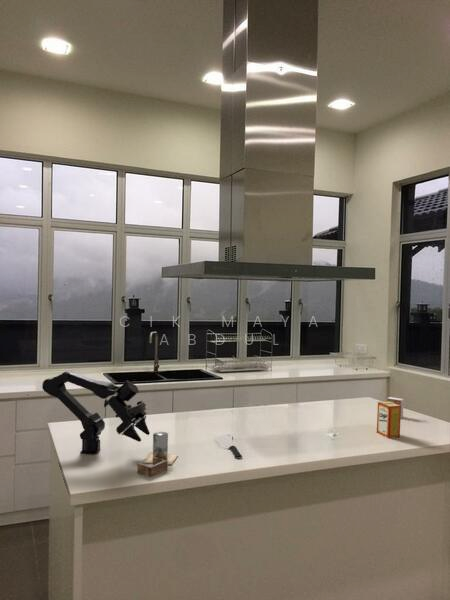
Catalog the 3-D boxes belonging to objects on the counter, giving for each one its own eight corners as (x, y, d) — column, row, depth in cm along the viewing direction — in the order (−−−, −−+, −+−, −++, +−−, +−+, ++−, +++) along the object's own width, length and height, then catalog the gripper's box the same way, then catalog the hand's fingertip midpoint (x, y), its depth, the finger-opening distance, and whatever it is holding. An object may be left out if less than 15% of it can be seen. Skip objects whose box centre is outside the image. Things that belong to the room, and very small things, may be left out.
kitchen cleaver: (211, 434, 233) (231, 432, 235) (211, 438, 234) (231, 435, 235) (221, 458, 203) (245, 454, 204) (221, 462, 203) (245, 458, 204)
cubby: (137, 472, 185) (137, 463, 185) (154, 465, 193) (154, 456, 193) (150, 477, 182) (150, 467, 181) (167, 469, 189) (167, 460, 189)
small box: (386, 416, 281) (386, 398, 280) (388, 414, 285) (389, 396, 285) (400, 418, 276) (401, 400, 276) (403, 416, 281) (403, 398, 280)
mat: (142, 463, 195) (142, 461, 195) (149, 453, 206) (149, 452, 206) (171, 465, 194) (171, 464, 194) (177, 456, 205) (177, 454, 205)
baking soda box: (399, 437, 241) (401, 405, 241) (388, 438, 239) (389, 405, 239) (387, 431, 250) (388, 400, 250) (376, 432, 248) (378, 401, 248)
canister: (153, 461, 196) (153, 436, 196) (151, 456, 202) (152, 432, 202) (168, 460, 198) (168, 435, 197) (166, 455, 204) (167, 431, 203)
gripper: (124, 401, 193) (150, 431, 191) (143, 391, 211) (166, 419, 209) (105, 418, 195) (130, 449, 193) (125, 407, 213) (148, 435, 211)
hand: (144, 437), depth 201 cm, fingers open, 9 cm apart
